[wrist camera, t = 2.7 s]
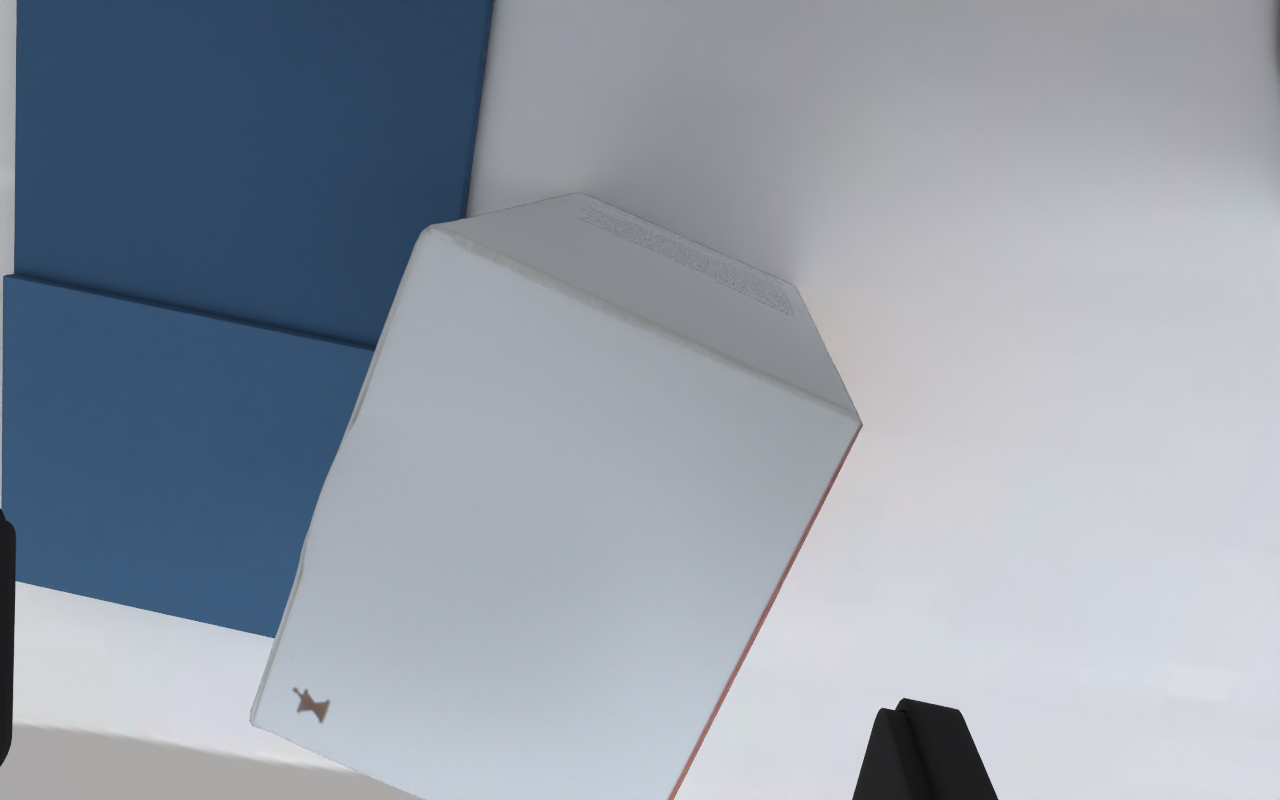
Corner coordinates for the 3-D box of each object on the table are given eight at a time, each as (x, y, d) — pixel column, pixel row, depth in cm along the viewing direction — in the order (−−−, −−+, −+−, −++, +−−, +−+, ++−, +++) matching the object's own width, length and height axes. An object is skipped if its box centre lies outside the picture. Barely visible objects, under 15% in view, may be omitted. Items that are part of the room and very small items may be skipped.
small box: (680, 550, 27) (627, 904, 14) (469, 459, 27) (229, 731, 14) (806, 282, 25) (876, 418, 12) (577, 183, 25) (407, 214, 12)
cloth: (505, -83, 23) (496, -92, 22) (408, 650, 28) (397, 666, 28) (32, -168, 24) (5, -180, 23) (22, 565, 29) (0, 578, 28)
